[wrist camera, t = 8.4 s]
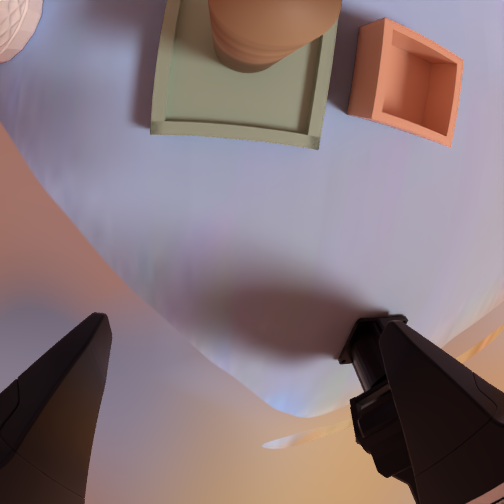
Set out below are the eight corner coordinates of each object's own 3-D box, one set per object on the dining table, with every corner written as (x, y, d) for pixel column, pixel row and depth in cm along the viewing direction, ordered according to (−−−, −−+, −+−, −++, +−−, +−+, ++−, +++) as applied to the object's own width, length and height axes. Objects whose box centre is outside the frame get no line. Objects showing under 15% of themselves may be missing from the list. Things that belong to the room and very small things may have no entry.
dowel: (278, 77, 15) (334, 58, 7) (209, 69, 14) (197, 37, 6) (286, 19, 13) (345, -39, 5) (218, 11, 12) (218, -63, 4)
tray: (310, 145, 18) (318, 149, 16) (155, 131, 16) (150, 134, 15) (333, -12, 12) (342, -19, 11) (180, -33, 11) (177, -43, 9)
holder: (421, 137, 18) (450, 147, 15) (346, 114, 17) (371, 119, 14) (433, 60, 15) (463, 60, 12) (359, 27, 14) (385, 17, 11)
